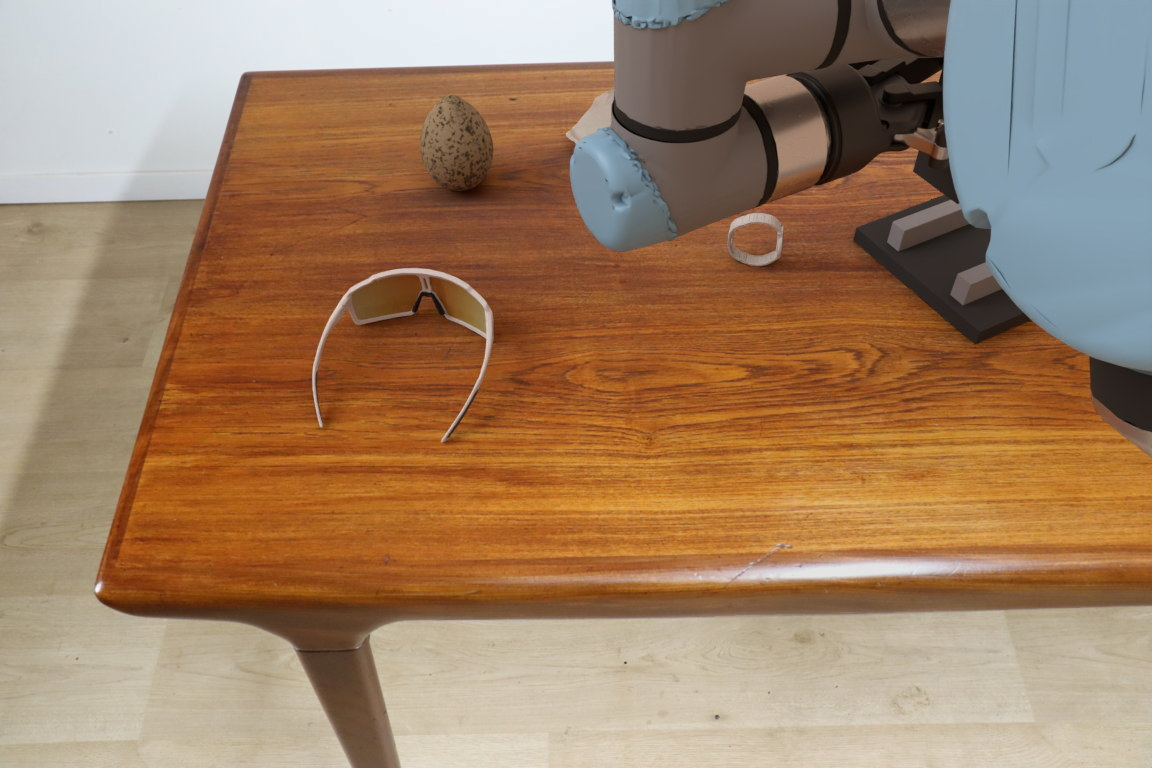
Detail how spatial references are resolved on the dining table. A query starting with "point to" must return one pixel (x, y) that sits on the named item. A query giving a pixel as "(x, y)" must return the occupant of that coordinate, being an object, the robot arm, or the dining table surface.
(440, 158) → the decorative egg
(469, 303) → the sunglasses
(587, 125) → the pottery shard
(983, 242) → the base pad
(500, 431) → the dining table surface
